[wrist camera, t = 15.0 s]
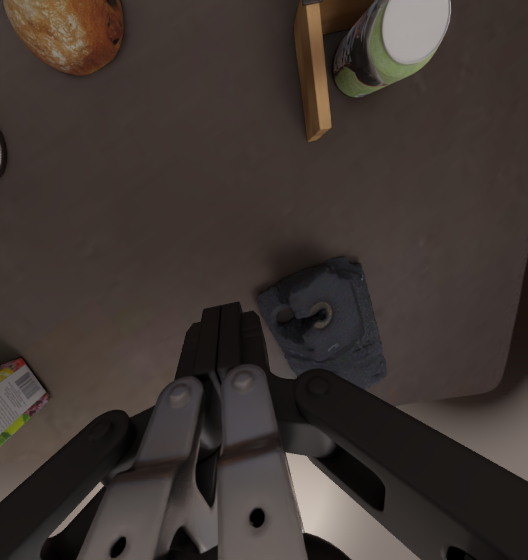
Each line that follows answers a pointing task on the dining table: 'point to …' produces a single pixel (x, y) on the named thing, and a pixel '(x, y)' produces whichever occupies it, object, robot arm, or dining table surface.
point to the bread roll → (69, 31)
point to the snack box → (18, 397)
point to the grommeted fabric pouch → (327, 322)
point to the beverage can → (389, 44)
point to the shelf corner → (320, 54)
